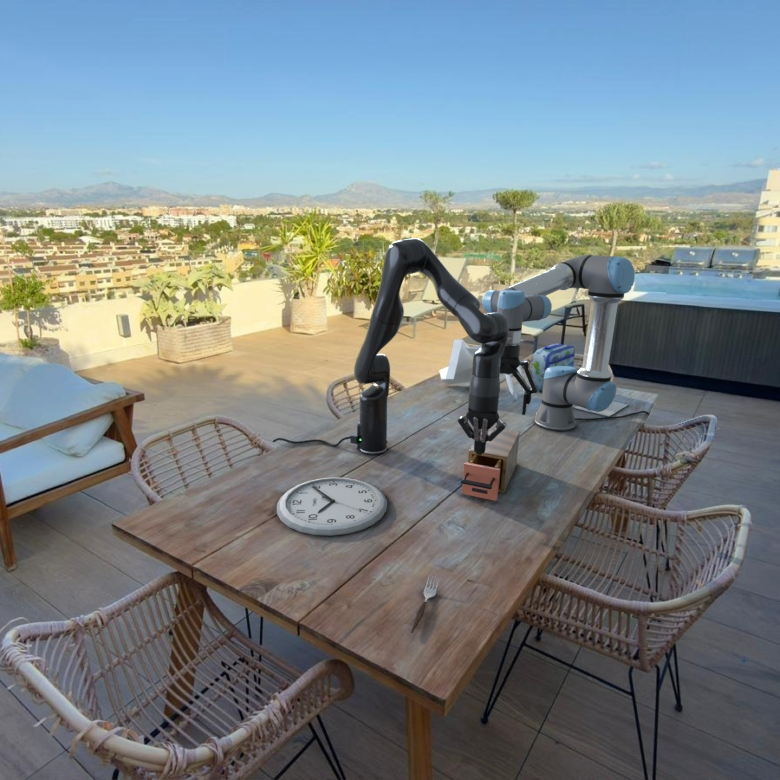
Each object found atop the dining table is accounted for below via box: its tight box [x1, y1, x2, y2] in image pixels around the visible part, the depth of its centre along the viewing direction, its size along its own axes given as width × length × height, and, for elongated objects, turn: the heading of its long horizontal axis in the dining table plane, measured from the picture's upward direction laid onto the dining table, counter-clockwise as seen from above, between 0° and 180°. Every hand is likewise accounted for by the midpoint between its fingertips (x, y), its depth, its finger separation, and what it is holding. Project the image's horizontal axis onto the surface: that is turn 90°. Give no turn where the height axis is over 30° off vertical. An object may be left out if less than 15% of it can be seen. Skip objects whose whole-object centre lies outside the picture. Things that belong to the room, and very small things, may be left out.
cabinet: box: [467, 426, 521, 494], centre depth 161 cm, size 21×11×11 cm, turn 157°
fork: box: [410, 574, 440, 634], centre depth 104 cm, size 3×16×2 cm, turn 160°
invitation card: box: [573, 400, 629, 417], centre depth 226 cm, size 21×1×15 cm
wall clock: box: [276, 476, 388, 537], centre depth 142 cm, size 30×2×30 cm
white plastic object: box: [438, 338, 526, 400], centre depth 245 cm, size 37×45×31 cm
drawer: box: [460, 454, 503, 502], centre depth 151 cm, size 26×10×9 cm, turn 157°
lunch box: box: [531, 343, 576, 391], centre depth 249 cm, size 26×11×21 cm, turn 134°
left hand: (479, 453), depth 139 cm, fingers closed
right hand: (501, 410), depth 162 cm, fingers open, 13 cm apart
